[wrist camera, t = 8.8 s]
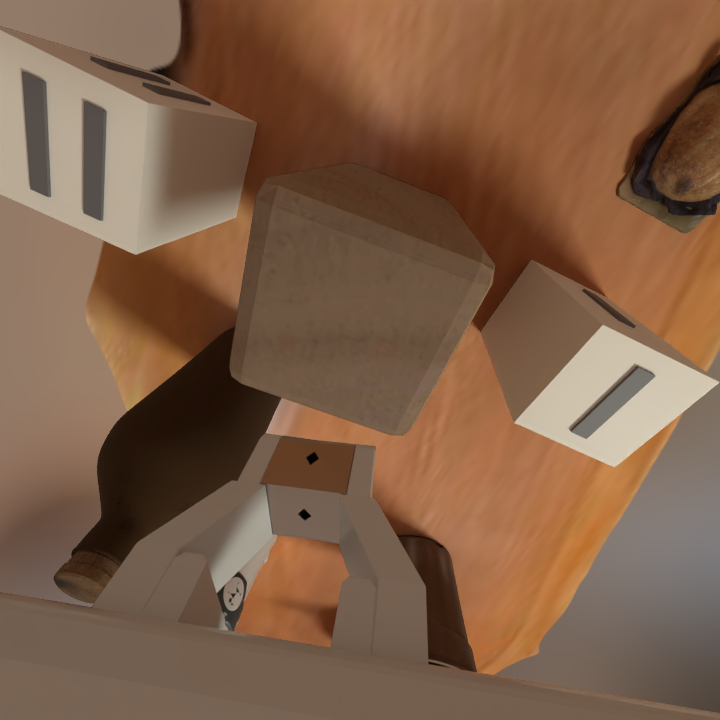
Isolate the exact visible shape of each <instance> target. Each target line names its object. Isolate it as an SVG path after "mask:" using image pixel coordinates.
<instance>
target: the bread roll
mask: <svg viewBox="0 0 720 720" xmlns="http://www.w3.org/2000/svg"><path fill="white" fill-rule="evenodd" d="M616 194H617V196H618V197H619V198H620V199H622V200H625V201H627V202H629V203H631V204H632V205H634V206H636V207H637V208H639V209H641V210H643V211H644V212H645V213H648V214H650V215H651V216H654V217H655V218H656V219H658V220H660V221H662V222H664V223H666V224H667V225H669V226H671V227H673V228H675V229H677V230H678V231H680V232H682V233H688V232H690V231H692V230H693V229H694V228H695V227H696V226H697V225H699V224H700V222H701V221H702V220H704V219H705V217H706V216H708V215H715V213H716V209H717V205H718V204H719V203H720V55H719V56H718V58H717V59H716V60H715V61H714V62H713V63H711V65H710V66H709V67H708V68H707V70H706V71H705V72H704V73H703V74H702V75H701V76H700V78H699V79H698V80H697V81H696V82H695V83H694V85H693V86H692V87H691V88H690V89H689V90H688V91H687V92H686V93H685V94H684V96H683V97H682V98H681V100H680V101H679V103H678V105H677V106H676V107H675V108H674V109H673V111H672V112H671V113H670V115H669V116H668V117H667V118H666V119H665V121H664V122H663V123H662V125H661V127H660V128H656V129H655V130H654V132H653V133H652V134H651V135H650V138H649V140H648V141H647V142H646V143H644V144H643V146H642V147H641V149H640V153H639V155H638V157H637V159H636V160H635V161H634V164H633V166H632V167H631V169H630V172H629V173H628V174H627V175H626V177H625V179H624V180H623V181H622V183H621V184H620V185H619V186H618V189H617V192H616Z"/></svg>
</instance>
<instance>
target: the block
mask: <svg viewBox="0 0 720 720" xmlns="http://www.w3.org/2000/svg"><path fill="white" fill-rule="evenodd" d="M494 269H495V264H494V262H493V261H492V260H491V258H490V257H489V255H488V254H487V253H486V251H485V250H484V248H483V247H482V246H481V244H480V243H479V242H478V240H477V239H476V237H475V236H474V235H473V233H472V232H471V231H470V229H469V228H468V226H467V225H466V224H465V222H464V221H463V219H462V218H461V217H460V215H459V214H458V213H457V211H456V210H455V208H454V207H453V206H452V205H451V203H450V202H449V201H448V200H447V199H446V198H443V197H440V196H438V195H435V194H433V193H430V192H428V191H425V190H422V189H420V188H417V187H415V186H412V185H410V184H407V183H404V182H402V181H399V180H397V179H394V178H392V177H389V176H386V175H384V174H381V173H379V172H376V171H374V170H371V169H368V168H366V167H363V166H361V165H358V164H356V163H347V164H340V165H335V166H329V167H323V168H318V169H312V170H306V171H301V172H295V173H289V174H284V175H278V176H272V177H267V178H266V180H265V181H264V183H263V184H262V186H261V187H260V189H259V191H258V192H257V194H256V199H255V206H254V212H253V218H252V224H251V231H250V237H249V243H248V249H247V256H246V262H245V268H244V275H243V281H242V287H241V293H240V300H239V306H238V312H237V319H236V325H235V331H234V337H233V344H232V350H231V356H230V372H231V376H232V377H233V378H235V379H236V380H237V381H239V382H240V383H241V384H244V385H247V386H250V387H253V388H255V389H258V390H261V391H264V392H267V393H270V394H273V395H276V396H279V397H281V398H284V399H287V400H290V401H293V402H296V403H299V404H302V405H305V406H307V407H310V408H313V409H316V410H319V411H322V412H325V413H328V414H331V415H333V416H336V417H339V418H342V419H345V420H348V421H351V422H354V423H357V424H359V425H362V426H365V427H368V428H371V429H374V430H377V431H380V432H383V433H385V434H388V435H392V436H403V435H404V434H406V433H407V432H408V431H409V430H410V429H411V428H412V426H413V425H414V424H415V422H416V420H417V418H418V417H419V415H420V413H421V411H422V409H423V408H424V406H425V404H426V402H427V400H428V399H429V397H430V395H431V393H432V391H433V390H434V388H435V386H436V384H437V382H438V381H439V379H440V377H441V375H442V373H443V372H444V370H445V368H446V366H447V364H448V363H449V361H450V359H451V357H452V356H453V354H454V352H455V350H456V348H457V347H458V345H459V343H460V341H461V339H462V338H463V336H464V334H465V332H466V330H467V329H468V327H469V325H470V323H471V321H472V320H473V318H474V316H475V314H476V312H477V311H478V309H479V307H480V305H481V303H482V302H483V300H484V298H485V296H486V294H487V293H488V291H489V289H490V287H491V286H492V284H493V277H494Z"/></svg>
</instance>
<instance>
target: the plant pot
mask: <svg viewBox="0 0 720 720" xmlns="http://www.w3.org/2000/svg"><path fill="white" fill-rule="evenodd" d="M398 539H399V541H400V542H401V544H402V546H403V548H404V549H405V551H406V553H407V555H408V556H409V558H410V560H411V562H412V563H413V565H414V567H415V569H416V570H417V572H418V574H419V575H420V577H421V579H422V581H423V582H424V584H425V586H426V607H427V637H428V664H430V665H436V666H442V667H448V668H454V669H460V670H466V671H472V672H477V670H476V666H475V661H474V656H473V652H472V649H471V646H470V645H469V644H468V639H467V634H466V630H465V625H464V620H463V616H462V611H461V606H460V601H459V596H458V591H457V586H456V581H455V576H454V570H453V565H452V560H451V557H450V554H449V552H448V551H447V550H446V549H445V548H444V547H439V546H438V545H436V544H435V542H434V541H432V540H430V539H426V538H422V537H415V536H401V537H398Z"/></svg>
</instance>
